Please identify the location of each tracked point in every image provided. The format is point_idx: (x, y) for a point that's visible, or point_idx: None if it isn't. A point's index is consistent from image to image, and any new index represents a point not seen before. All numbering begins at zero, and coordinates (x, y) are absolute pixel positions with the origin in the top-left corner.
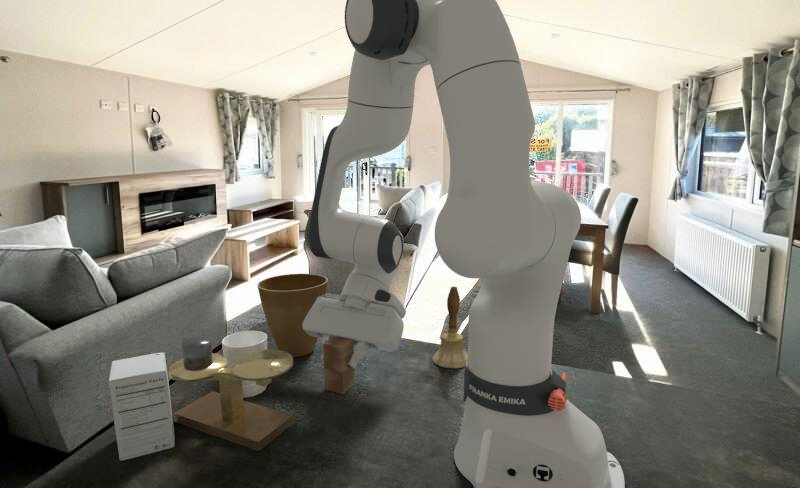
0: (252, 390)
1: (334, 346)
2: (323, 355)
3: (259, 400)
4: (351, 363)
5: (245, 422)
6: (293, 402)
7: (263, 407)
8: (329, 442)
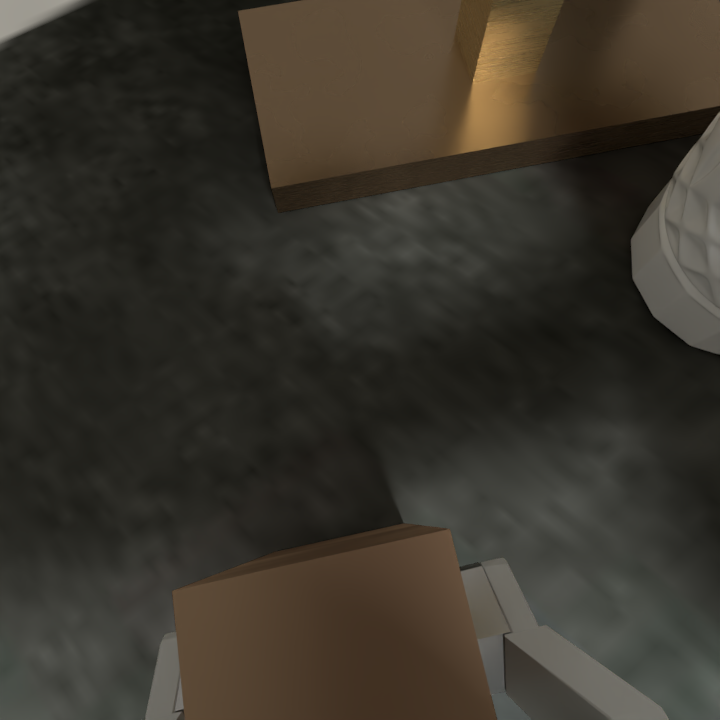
0: (647, 220)
1: (280, 566)
2: (488, 582)
3: (573, 238)
4: (164, 639)
5: (394, 48)
6: (427, 323)
7: (441, 150)
8: (53, 215)
